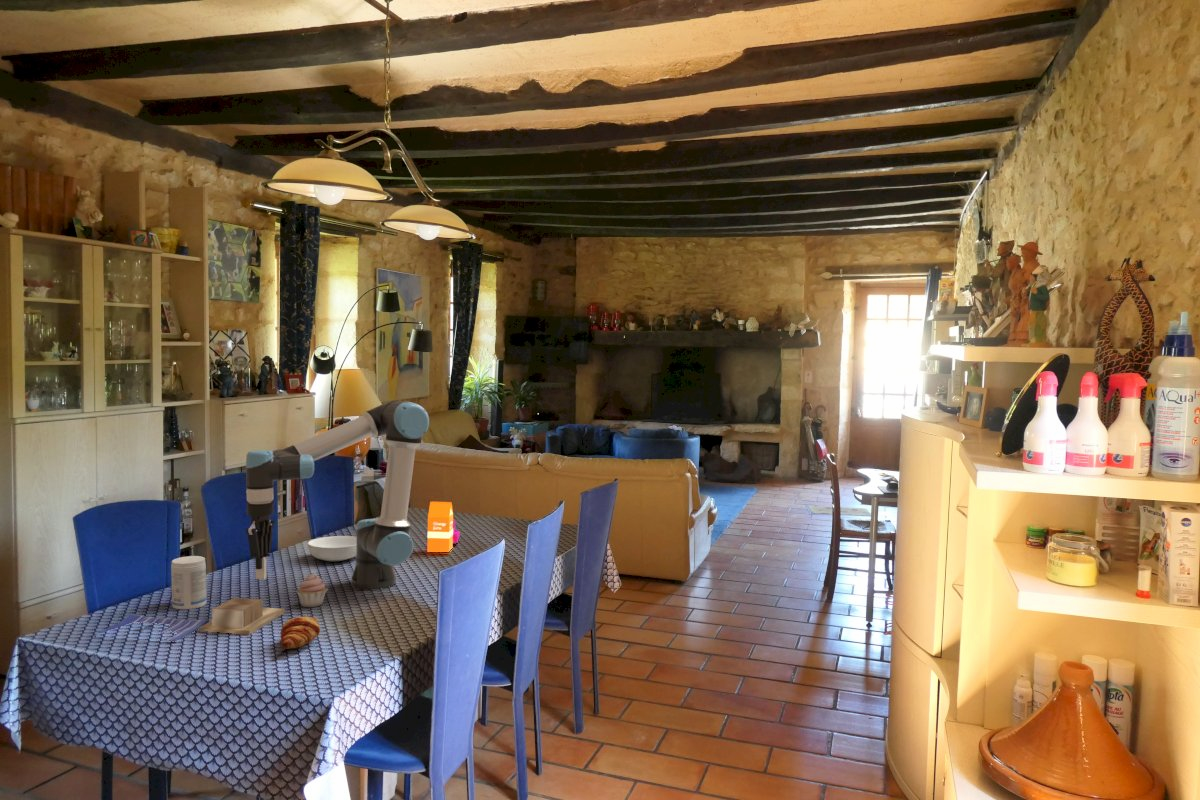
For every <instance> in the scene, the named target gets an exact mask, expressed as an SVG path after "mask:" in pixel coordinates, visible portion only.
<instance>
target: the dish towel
mask: <svg viewBox="0 0 1200 800" xmlns="http://www.w3.org/2000/svg"><path fill="white" fill-rule="evenodd" d="M134 622H140V623H141V622H143V623H145V622H149V623H151V624H152V623H157V624H159V623H161V624H162V623H166V624H169V625H170V626H169V625H165V626H163V627H168V628H165V629H162V630H163V631H165V632H167V631H166V630H168V631H170V630H171V631H172V632H170V633H174V632H177V634H175V635H172V636H173V637H169V638H166V639H164V640H167V641H174V642H175V641H177V640H179V639H181V638H183V637H185V636H187V635H189V634H190V633H192V632H194V631H196V630H197V631H199V630H198V629H199V627H201V626H203V625H205V624H207V623H208V622H209V619H208V618H206V619H205V618H203V619H201V618H200V619H184V618H174V617H173V618H172V617H171V618H168V617H152V616H145V615H141V614H137V613H132V614H131V615H128V616H126V617H125V618H124V619H122V620H121V621H119V622H117V623H115V624H113V625H111V626H109V627H107V628H104V629H103V630H100V631H99V632H98V633H103V632H106V631H108V630H111V629H115V628H117V627H121V626H124V625H126V624H129V623H131V624H132V623H134ZM157 626H160V624H159V625H157ZM163 631H160V632H161V633H163ZM178 631H179V632H178ZM197 631H196V632H197ZM194 633H195V632H194ZM192 634H193V633H192ZM189 636H190V635H189ZM187 637H188V636H187Z"/></svg>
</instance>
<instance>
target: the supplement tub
mask: <svg viewBox="0 0 1200 800" xmlns="http://www.w3.org/2000/svg"><path fill="white" fill-rule="evenodd" d="M170 566H171V567H170V570H171V571H170V572H171V573H170V574H171V577H170V579H171V607H172V608H173V609H176V610H193V609H197V608H198V609H199V608H201V607H203V606H205V605H206V604H207V601H208V599H207V566H206V558H205V557H204V556H199V555H188V556H180V557H178V558H174V559H173V560H171V565H170Z"/></svg>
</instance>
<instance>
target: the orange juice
mask: <svg viewBox="0 0 1200 800" xmlns="http://www.w3.org/2000/svg"><path fill="white" fill-rule="evenodd" d="M453 520H454V511H453V504H452V501H430V502H429V509H428V515H427V550H426V551H427V552H449V551H450V550H451V549H452V548H453V549H454V545H453ZM453 549H452V550H453ZM452 550H451V551H452ZM451 551H450V552H451Z"/></svg>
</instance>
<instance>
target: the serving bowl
mask: <svg viewBox="0 0 1200 800" xmlns="http://www.w3.org/2000/svg"><path fill="white" fill-rule="evenodd" d="M307 547H308V551H309V553H310V554H311V556H312V557H314V558H315V559H318V560H322V561H326V562H341V561H346V560H348V559H352V558H354V557H356V550H357V536H352V535H335V536H333V535H331V536H324V537H317V538H314V539H311V540H309V541H308V542H307Z"/></svg>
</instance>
